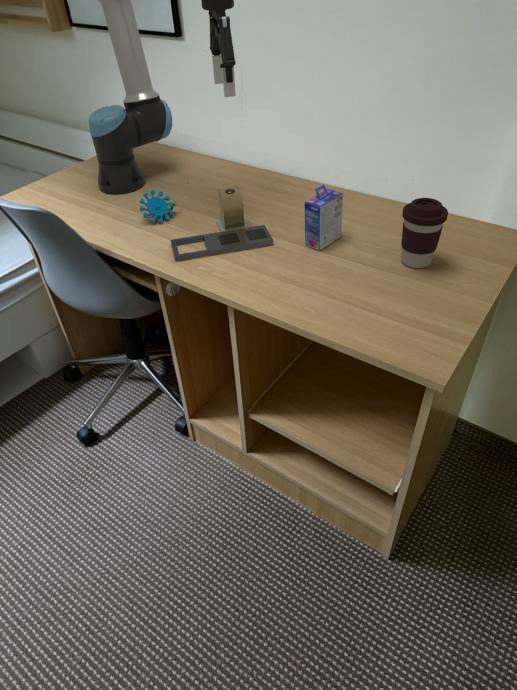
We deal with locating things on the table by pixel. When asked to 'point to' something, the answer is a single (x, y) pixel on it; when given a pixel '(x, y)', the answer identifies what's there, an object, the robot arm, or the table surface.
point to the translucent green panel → (223, 227)
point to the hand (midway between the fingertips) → (224, 89)
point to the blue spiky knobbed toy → (157, 206)
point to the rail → (225, 242)
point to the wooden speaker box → (231, 208)
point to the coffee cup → (421, 231)
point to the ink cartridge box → (323, 218)
